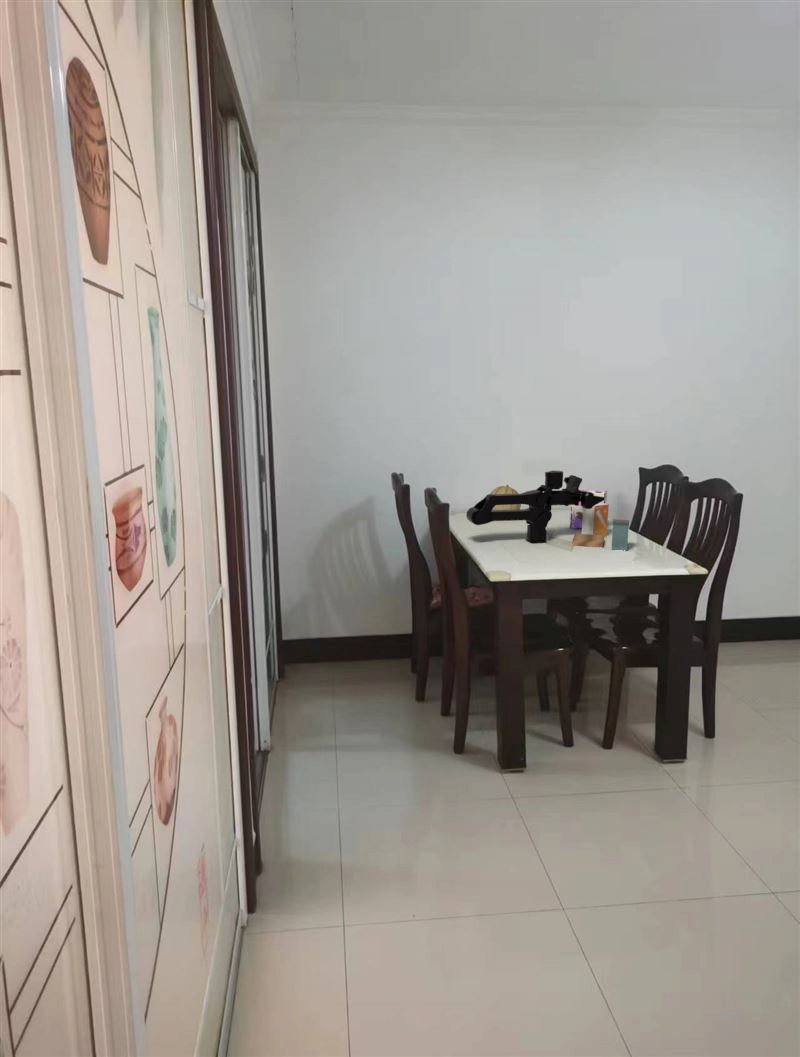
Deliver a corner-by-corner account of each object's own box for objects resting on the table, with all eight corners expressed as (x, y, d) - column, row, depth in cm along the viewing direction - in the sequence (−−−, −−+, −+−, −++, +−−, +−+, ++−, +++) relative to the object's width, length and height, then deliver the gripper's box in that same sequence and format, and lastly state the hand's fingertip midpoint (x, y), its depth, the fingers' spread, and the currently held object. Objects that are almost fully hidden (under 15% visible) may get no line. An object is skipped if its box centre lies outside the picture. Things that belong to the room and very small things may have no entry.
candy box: (569, 528, 331) (571, 489, 327) (571, 526, 336) (573, 487, 333) (603, 531, 326) (605, 491, 322) (605, 528, 331) (607, 489, 328)
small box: (593, 538, 312) (594, 505, 309) (581, 535, 317) (582, 503, 314) (607, 536, 316) (609, 503, 314) (595, 533, 321) (597, 501, 319)
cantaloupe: (485, 520, 347) (486, 486, 344) (488, 515, 361) (489, 482, 358) (519, 522, 344) (520, 488, 341) (521, 516, 358) (522, 483, 355)
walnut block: (572, 547, 299) (572, 539, 298) (574, 541, 309) (575, 533, 308) (602, 548, 295) (602, 541, 295) (603, 542, 306) (604, 535, 305)
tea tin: (611, 550, 291) (612, 522, 289) (611, 547, 297) (613, 519, 295) (627, 551, 290) (629, 523, 288) (627, 548, 295) (629, 520, 293)
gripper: (573, 480, 294) (611, 479, 297) (552, 473, 312) (589, 473, 315) (571, 509, 296) (609, 508, 300) (551, 501, 314) (587, 501, 317)
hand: (598, 496), depth 308 cm, fingers open, 9 cm apart
